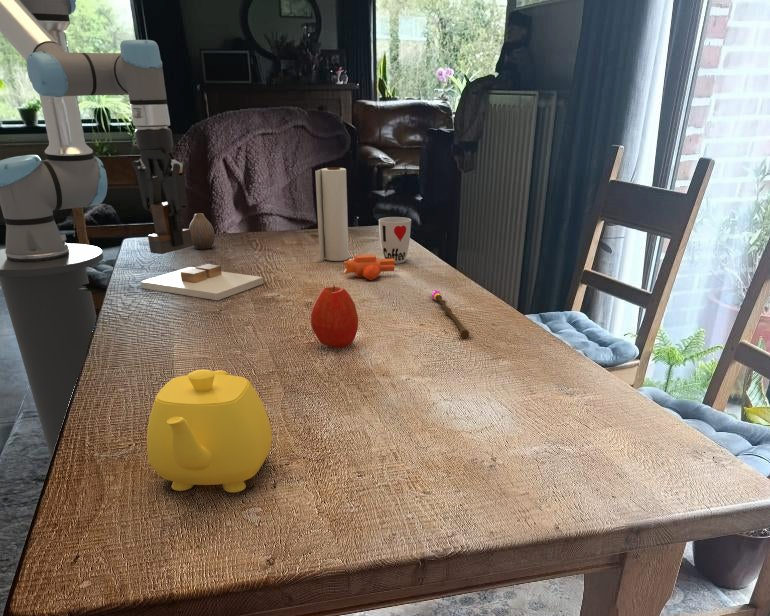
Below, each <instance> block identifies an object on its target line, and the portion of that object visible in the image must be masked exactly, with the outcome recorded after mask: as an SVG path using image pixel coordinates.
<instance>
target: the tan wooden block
mask: <svg viewBox="0 0 770 616" xmlns="http://www.w3.org/2000/svg"><path fill="white" fill-rule="evenodd" d="M195 268H196V269H200V270H206V275H207V278H212V277H216V276H219V275H222V274H221V271H222V266H221V265H219V264H211V263H205V264H202V265H200V266H199V265H198V266H196V267H195Z"/></svg>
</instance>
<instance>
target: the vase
mask: <svg viewBox="0 0 770 616" xmlns="http://www.w3.org/2000/svg"><path fill="white" fill-rule="evenodd" d="M188 229H190V230H191V237H192V244H193V246H192V247H194V248H195V249H197V250H208V249H212V247H213V246H214V243H215V239H216V234H215V229H214V226H213V225H212V223H211V222H210V221H209V220H208V219H207V218H206V216H205V214H204V213H201V212H199V213H194V215H193V218H192V220H191V222H190V223H189V226H188Z"/></svg>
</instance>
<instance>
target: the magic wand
mask: <svg viewBox="0 0 770 616" xmlns="http://www.w3.org/2000/svg"><path fill="white" fill-rule="evenodd" d="M431 298H432V300H434V301H436V302H439V305H440V306H441V307H443V308H444V313H445V315H447V316H449V317H450V318H451V320H453V322H454V323H455V325H456V326H457V327H458V329H459V331H460V335H459V336H460V338H461V339H462V340H464V339H465V340H466V339H468V338H469V336H470V332H469V330H468V329H466V327H465V326H464V325H463V324H462V323H461V321H460V320H459V319H458V318H457V316H456V315H455V314H454V313H453V312H452V309H451V308H450V307H448V305H447V304H446V301H445V300H444V299H443V296H442V293H441V292H440V291H439V290H432V293H431Z"/></svg>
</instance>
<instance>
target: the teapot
mask: <svg viewBox="0 0 770 616" xmlns="http://www.w3.org/2000/svg"><path fill="white" fill-rule="evenodd" d="M146 430H147V432H146V453H147V460H148V463H149V465H150V467H151V468H152V469H153V470H154V471H155V472H156V474H158V475H159V476H160V477H161V478H163V479H165V480H167V481H170V482H172V485H171V489H172V490H174V491H179V492H180V491H181V492H183V491H187V490H189V489H191V488H193V487H194V486H195V485H197V486H212V485H213V486H214V485H222V486H223V490H224V491H225V492H227V493H239V492H241V491H244V490H245V489H246V487H247V485H246V482H245V481H247V480H249V479H252V478H253V477H255V475H256V474H257V473H258V472H259V471H260V469H261V468H262V465H263V464H264V462H265V461H266V459H267V457H268V455H269V452H270V449H271V447H272V442H273V432H272V427H271V423H270V419H269V416H268V413H267V411H266V408H265V405H264V404H263V402H262V400H261V398H260V396H259V394H258V393H257V391H256V390H255V387H254V386H253V384H252V383H251V382H250V380H248V379H247V377H246V378H245V377H243V376H239V375H233V374H230V373H229V372H227V371H225V370H222V369H221V370H219V369H218V370H214V371H213V370H210V369H197V370H192V371H191V372H189V373H188V374H186V375H180V376H176V377H173V378H172V379H170V380H169V381H168V382H167V383H166V384H165V385H164V386H163V387H161V389H160V390H159V391H158V393H157V394H156V395H155V398H154V402H153V404H152V407H151V412H150V415H149V419H148V425H147V429H146Z"/></svg>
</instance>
